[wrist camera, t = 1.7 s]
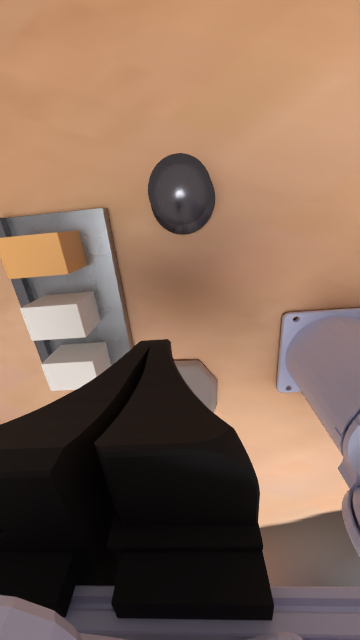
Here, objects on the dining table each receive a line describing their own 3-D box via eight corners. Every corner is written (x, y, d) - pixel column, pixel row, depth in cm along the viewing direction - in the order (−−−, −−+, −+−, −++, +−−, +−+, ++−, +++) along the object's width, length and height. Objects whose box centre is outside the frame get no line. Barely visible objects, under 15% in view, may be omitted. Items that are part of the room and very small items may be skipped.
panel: (107, 208, 17) (99, 207, 16) (137, 370, 22) (134, 380, 21) (2, 219, 18) (-15, 219, 16) (57, 374, 23) (48, 385, 21)
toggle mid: (93, 291, 18) (76, 303, 16) (100, 320, 19) (85, 337, 17) (44, 295, 19) (19, 308, 16) (54, 323, 20) (32, 340, 17)
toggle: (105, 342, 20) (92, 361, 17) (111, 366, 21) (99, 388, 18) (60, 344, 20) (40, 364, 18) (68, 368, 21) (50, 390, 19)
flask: (133, 369, 22) (94, 473, 13) (205, 347, 21) (217, 445, 12) (162, 423, 25) (146, 541, 16) (227, 406, 24) (252, 523, 15)
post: (213, 160, 16) (226, 128, 10) (214, 231, 17) (227, 236, 12) (147, 168, 16) (125, 140, 10) (156, 236, 18) (141, 244, 12)
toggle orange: (78, 230, 17) (57, 232, 14) (87, 265, 18) (68, 274, 15) (25, 235, 17) (-7, 238, 14) (36, 270, 18) (8, 279, 15)
